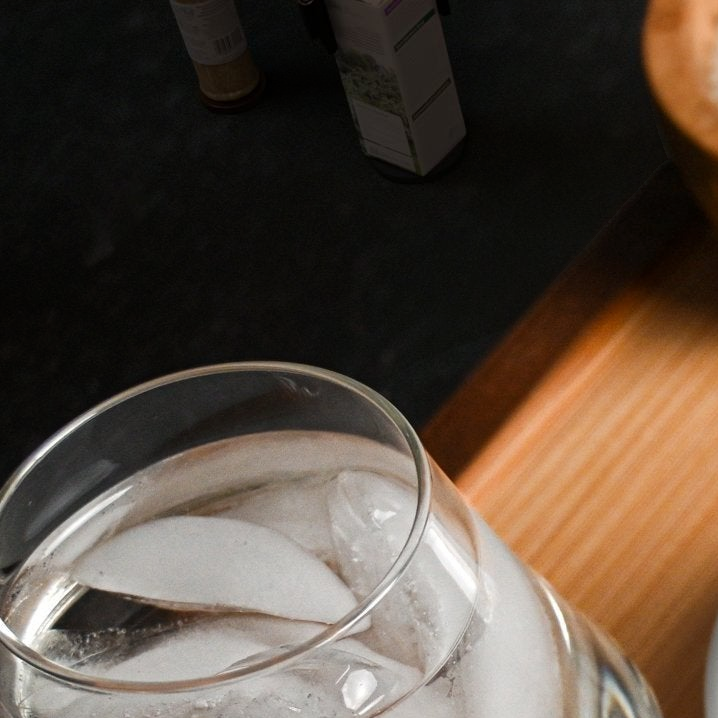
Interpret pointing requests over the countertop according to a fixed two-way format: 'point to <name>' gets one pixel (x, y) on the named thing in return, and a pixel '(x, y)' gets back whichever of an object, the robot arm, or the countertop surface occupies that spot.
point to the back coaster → (239, 104)
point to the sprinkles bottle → (217, 47)
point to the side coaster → (438, 171)
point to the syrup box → (397, 80)
